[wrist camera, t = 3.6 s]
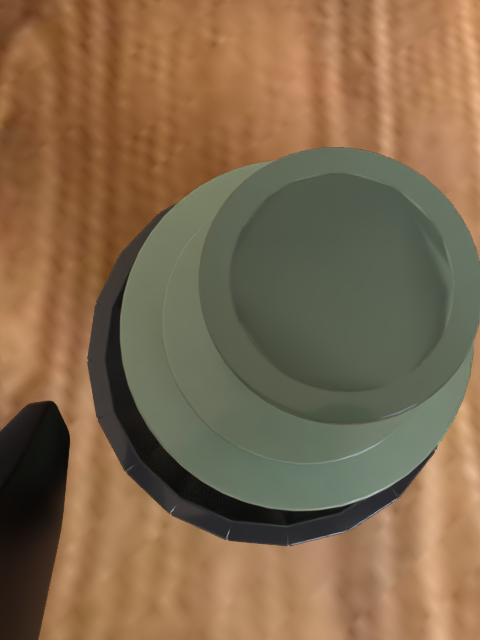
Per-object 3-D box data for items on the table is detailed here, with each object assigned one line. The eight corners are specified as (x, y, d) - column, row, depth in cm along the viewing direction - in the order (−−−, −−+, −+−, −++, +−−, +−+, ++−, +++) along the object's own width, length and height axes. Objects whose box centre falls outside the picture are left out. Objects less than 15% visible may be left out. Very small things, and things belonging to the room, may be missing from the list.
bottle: (361, 423, 16) (731, 514, 4) (199, 461, 16) (96, 679, 4) (320, 267, 17) (527, -26, 5) (166, 300, 17) (1, 71, 5)
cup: (421, 462, 16) (504, 493, 11) (158, 526, 16) (125, 588, 11) (352, 215, 18) (399, 147, 13) (110, 266, 17) (61, 215, 12)
